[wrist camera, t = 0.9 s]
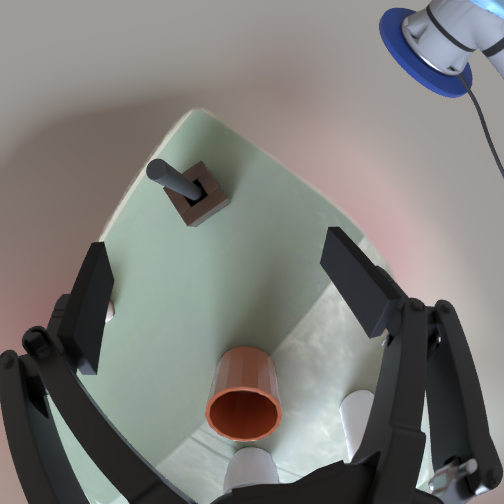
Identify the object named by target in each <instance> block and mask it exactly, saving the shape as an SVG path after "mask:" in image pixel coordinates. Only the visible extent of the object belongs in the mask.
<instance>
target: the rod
mask: <svg viewBox="0 0 504 504" xmlns="http://www.w3.org/2000/svg"><path fill="white" fill-rule="evenodd" d="M146 173H147V176H148V177H149V178H150V179H151V180H153V181H155V182H157V183H159V184H161V185H163V186H165V187H167V188H170V189H172V190H174V191H176V192H178V193H180V194H182V195H184V196H186V197H188V198H190V199H192V200H194V201H196V202H200V201H201V200H202V199H204V198H205V197H207V196H208V195H207V194H206V193H205V192H204V191H203V190H201V189H200V188H199V187H197V186H196V185H195V184H194V183H192V182H191V181H190V180H188V179H187V178H186V177H184V176H183V175H182V174H181V173H179V172H178V171H177V170H175V169H174V168H173V167H171V166H170V165H169V164H167V163H166V162H165V161H163V160H162V159H154V160H152V161H151V162H150V163H149V164H148V166H147V169H146Z"/></svg>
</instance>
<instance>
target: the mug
mask: <svg viewBox="0 0 504 504" xmlns="http://www.w3.org/2000/svg"><path fill="white" fill-rule="evenodd" d="M257 484H280V483H279V476H278V472H277V468H276V465H275V463H274V461H273V459H272V457H271V455H270V454H269V453H268V452H267V451H265V450H263V449H260V448H254V447H247V448H243V449H241V450H239V451H237V452H236V453H235V454H234V455H233V457H232V458H231V460H230V463H229V465H228V468H227V472H226V475H225V481H224V490H223V495H224V494H226V493H229V492H231V491H232V489H233V488H240V487H246V486H252V485H257Z"/></svg>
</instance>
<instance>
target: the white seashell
mask: <svg viewBox="0 0 504 504" xmlns="http://www.w3.org/2000/svg"><path fill="white" fill-rule="evenodd" d="M114 314H115V307H114V305H113V303H112V301H111V300H110V302H109V306H108V311H107V316H106V321H105V322H108V321H110V320H111V319H112V318H113V317H114Z"/></svg>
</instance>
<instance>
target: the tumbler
mask: <svg viewBox="0 0 504 504" xmlns="http://www.w3.org/2000/svg"><path fill="white" fill-rule="evenodd" d="M282 415H283V414H282V408H281V401H280V395H279V389H278V382H277V376H276V371H275V366H274V363H273V361H272V359H271V358H270V357H269V355H268V354H266V353H265V352H264V351H262V350H260V349H258V348H255V347H250V346H241V347H236V348H233V349H231V350H229V351H227V352H226V353H225V354H223V355H222V357H221V358H220V359H219V361H218V363H217V366H216V370H215V374H214V377H213V381H212V385H211V389H210V393H209V397H208V400H207V404H206V412H205V416H206V419H207V421H208V424H209V426H210V427H211V428H212V429H213V430H214V431H216V432H217V433H218V434H219V435H221V436H223V437H226V438H228V439H230V440H236V441H243V442H247V441H254V440H260V439H262V438H264V437H266V436H268V435H270V434H272V433H273V432H274V431H275V429H276V428H277V427H278V426H279V425H280V422H281V419H282Z"/></svg>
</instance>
